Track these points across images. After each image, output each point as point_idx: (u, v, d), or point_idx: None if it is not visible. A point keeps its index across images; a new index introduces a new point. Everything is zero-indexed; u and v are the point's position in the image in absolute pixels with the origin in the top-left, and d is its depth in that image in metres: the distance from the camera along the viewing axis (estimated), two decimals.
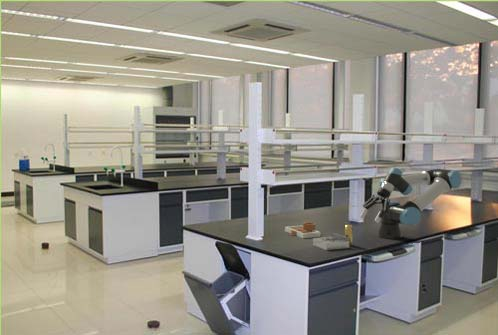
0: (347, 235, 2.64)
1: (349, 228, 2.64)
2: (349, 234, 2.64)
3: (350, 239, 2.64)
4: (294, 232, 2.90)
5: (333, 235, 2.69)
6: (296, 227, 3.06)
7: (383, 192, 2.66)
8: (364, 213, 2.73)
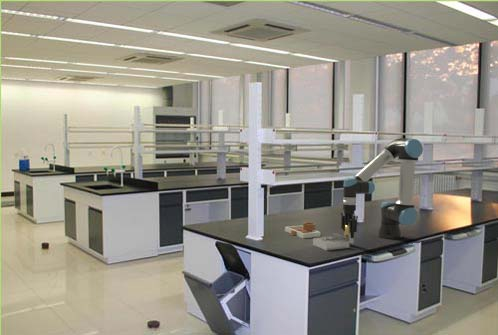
0: (347, 235, 2.64)
1: (349, 228, 2.64)
2: None
3: None
4: (294, 232, 2.90)
5: (333, 235, 2.69)
6: (296, 227, 3.06)
7: (348, 209, 2.62)
8: None
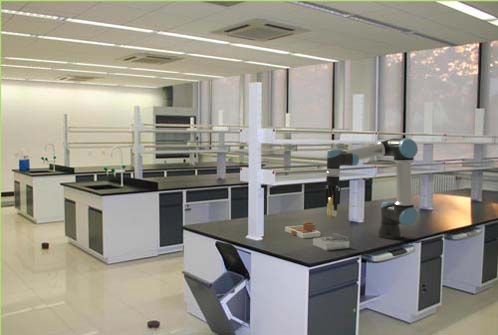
0: (330, 207, 2.59)
1: (332, 200, 2.59)
2: None
3: None
4: (294, 232, 2.90)
5: (333, 235, 2.69)
6: (296, 227, 3.06)
7: (331, 181, 2.56)
8: None
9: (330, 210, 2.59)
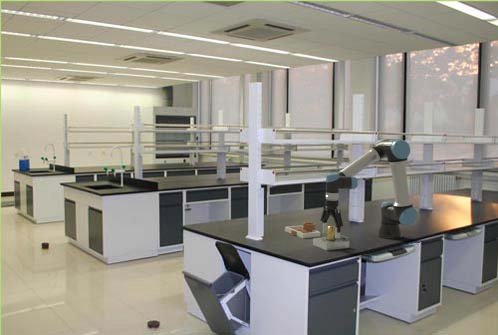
0: (329, 236, 2.60)
1: (331, 229, 2.60)
2: (331, 236, 2.60)
3: (332, 240, 2.60)
4: (294, 232, 2.90)
5: None
6: (296, 227, 3.06)
7: (330, 205, 2.57)
8: (325, 228, 2.67)
9: (329, 239, 2.60)
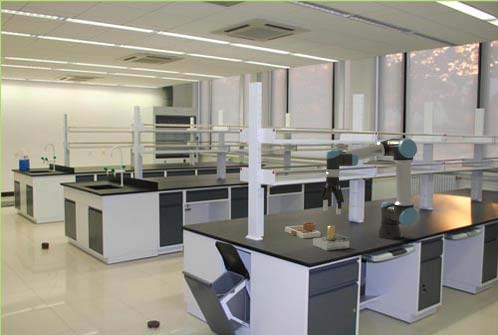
0: (329, 236, 2.60)
1: (331, 229, 2.60)
2: (331, 236, 2.60)
3: (332, 240, 2.60)
4: (294, 232, 2.90)
5: None
6: (296, 227, 3.06)
7: (331, 181, 2.56)
8: (326, 205, 2.67)
9: (329, 239, 2.60)
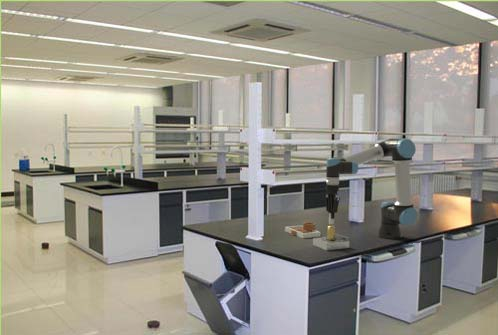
0: (329, 236, 2.60)
1: (331, 229, 2.60)
2: (331, 235, 2.60)
3: (332, 240, 2.60)
4: (294, 232, 2.90)
5: None
6: (296, 227, 3.06)
7: (331, 189, 2.57)
8: None
9: (329, 239, 2.60)
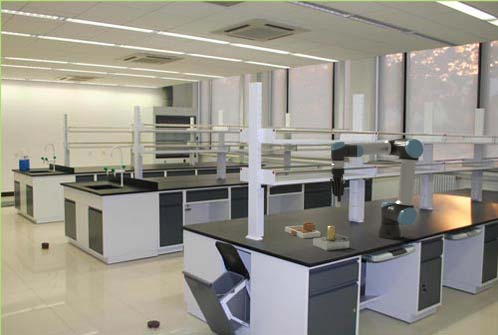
0: (329, 236, 2.60)
1: (331, 229, 2.60)
2: (331, 235, 2.60)
3: (332, 240, 2.60)
4: (294, 232, 2.90)
5: None
6: (296, 227, 3.06)
7: (336, 173, 2.59)
8: None
9: (329, 239, 2.60)
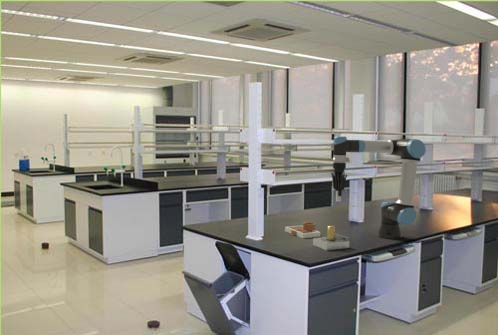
0: (329, 236, 2.60)
1: (331, 229, 2.60)
2: (331, 236, 2.60)
3: (332, 240, 2.60)
4: (294, 232, 2.90)
5: None
6: (296, 227, 3.06)
7: (338, 167, 2.60)
8: None
9: (329, 239, 2.60)
